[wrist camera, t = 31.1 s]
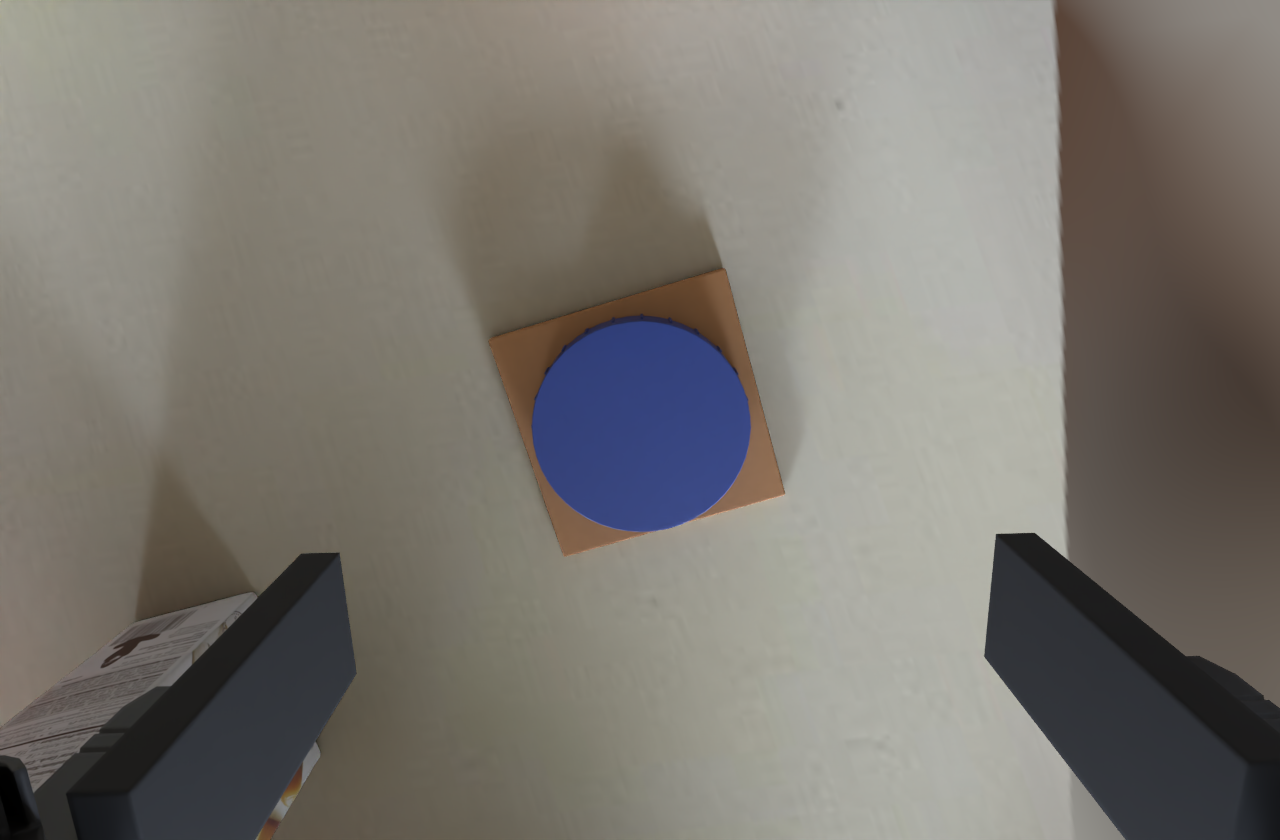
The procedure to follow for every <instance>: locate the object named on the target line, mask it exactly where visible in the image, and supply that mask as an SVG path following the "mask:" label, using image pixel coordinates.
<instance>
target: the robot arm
mask: <svg viewBox="0 0 1280 840" xmlns="http://www.w3.org/2000/svg"><path fill="white" fill-rule="evenodd" d="M984 657H985V658H986V659H987V661H988V662H989V663H990V665H991V666H992V667H993V669H994V670H995V671H996V672H997V674H998V675H999V676H1000V678H1001V679H1002V680H1003V681H1004V683H1005V684H1006V685H1007V687H1008V688H1009V689H1010V691H1011V692H1012V693H1013V694H1014V696H1015V697H1016V698H1017V700H1018V701H1019V702H1020V703H1021V705H1022V706H1023V707H1024V709H1025V710H1026V711H1027V713H1028V714H1029V715H1030V716H1031V718H1032V719H1033V720H1034V722H1035V723H1036V724H1037V725H1038V727H1039V728H1040V729H1041V731H1042V732H1043V733H1044V735H1045V736H1046V737H1047V738H1048V740H1049V741H1050V742H1051V744H1052V745H1053V746H1054V747H1055V749H1056V750H1057V751H1058V753H1059V754H1060V755H1061V757H1062V758H1063V759H1064V760H1065V762H1066V763H1067V764H1068V766H1069V767H1070V768H1071V769H1072V771H1073V772H1074V773H1075V775H1076V776H1077V777H1078V778H1079V780H1080V781H1081V782H1082V784H1083V785H1084V786H1085V788H1086V789H1087V790H1088V791H1089V793H1090V794H1091V795H1092V797H1093V798H1094V799H1095V800H1096V802H1097V803H1098V804H1099V806H1100V807H1101V808H1102V810H1103V811H1104V812H1105V813H1106V815H1107V816H1108V817H1109V819H1110V820H1111V821H1112V823H1113V824H1114V825H1115V826H1116V828H1117V829H1118V830H1119V831H1120V833H1121V834H1122V835H1123V837H1124V838H1125V839H1126V840H1280V708H1279V707H1277V706H1276V705H1275V704H1273V703H1272V702H1271V701H1270V700H1264V697H1263V695H1262V694H1261V693H1259V692H1258V691H1257V690H1255V689H1254V688H1253V687H1252V686H1250V685H1249V684H1248V683H1247V682H1245V681H1244V680H1243V679H1241V678H1240V677H1239V676H1238V675H1236V674H1234V673H1232V672H1230V671H1228V670H1226V669H1224V668H1222V667H1220V666H1218V665H1216V664H1214V663H1212V662H1210V661H1208V660H1206V659H1204V658H1202V657H1200V656H1185V655H1183V654H1182V653H1181V652H1180V651H1179V650H1177V649H1176V648H1175V647H1174V646H1172V645H1171V644H1170V643H1169V642H1168V641H1166V640H1165V639H1164V638H1163V637H1161V636H1160V635H1159V634H1158V633H1156V632H1155V631H1154V630H1153V629H1152V628H1150V627H1149V626H1148V625H1147V624H1145V623H1144V622H1143V621H1142V620H1141V619H1139V618H1138V617H1137V616H1136V615H1134V614H1133V613H1132V612H1131V611H1130V610H1128V609H1127V608H1126V607H1124V606H1123V605H1122V604H1121V603H1120V602H1119V601H1117V600H1116V599H1115V598H1114V597H1112V596H1111V595H1110V594H1109V593H1108V592H1106V591H1105V590H1104V589H1103V588H1101V587H1100V586H1099V585H1098V584H1097V583H1095V582H1094V581H1093V580H1091V579H1090V578H1089V577H1088V576H1087V575H1085V574H1084V573H1083V572H1082V571H1081V570H1079V569H1078V568H1077V567H1076V566H1074V565H1073V564H1072V563H1071V562H1070V561H1068V560H1067V559H1066V558H1065V557H1063V556H1062V555H1061V554H1060V553H1059V552H1057V551H1056V550H1055V549H1054V548H1052V547H1051V546H1050V545H1049V544H1048V543H1046V542H1045V541H1044V540H1043V539H1041V538H1040V537H1039V536H1038V535H1037V534H1035V533H1017V534H996V540H995V551H994V561H993V572H992V582H991V592H990V603H989V613H988V623H987V634H986V644H985V655H984ZM356 674H357V673H356V666H355V659H354V652H353V645H352V638H351V631H350V624H349V617H348V610H347V603H346V596H345V589H344V582H343V575H342V568H341V561H340V553H306V554H300V555H299V556H298V557H297V558H296V560H295V561H294V562H293V563H292V564H291V565H290V566H289V567H288V568H287V569H286V570H285V571H284V572H283V573H282V574H281V575H280V576H279V577H278V578H277V579H276V580H275V581H274V582H273V583H272V584H271V585H270V586H269V587H268V588H267V589H266V590H265V591H264V592H263V593H262V594H261V595H260V596H259V597H258V598H257V599H256V600H255V601H254V602H253V603H252V604H251V605H250V606H249V607H248V608H247V609H246V610H245V611H244V612H243V613H242V614H241V615H240V616H239V617H238V618H237V620H236V621H235V622H234V623H233V624H232V625H231V626H230V627H229V628H228V629H227V630H226V631H225V632H224V633H223V634H222V635H221V636H220V637H219V638H218V639H217V640H216V641H215V642H214V643H213V644H212V645H211V646H210V647H209V648H208V649H207V650H206V651H205V652H204V653H203V654H202V655H201V656H200V657H199V658H198V659H197V660H196V661H195V662H194V663H193V664H192V665H191V666H190V667H189V668H188V669H187V670H186V671H185V672H184V673H183V674H182V675H181V676H180V677H179V678H178V680H177V681H176V682H175V683H174V684H173V685H172V686H156V687H155V688H153V689H151V690H150V691H148V692H146V693H145V694H143V695H141V696H140V697H138V698H136V699H135V700H133V701H131V702H130V703H128V704H126V705H125V706H123V707H122V708H121V709H120V710H119V711H118V712H117V713H116V714H115V715H114V716H113V717H112V718H111V719H110V720H109V721H108V722H107V723H105V724H104V725H103V726H102V727H101V728H100V731H99V734H94V735H93V736H92V737H91V738H90V739H89V740H88V741H87V742H86V743H85V744H84V745H83V746H82V747H81V748H80V752H79V753H74V754H73V755H72V756H71V757H70V758H69V759H68V760H67V761H66V762H65V763H64V764H63V765H62V766H61V767H60V768H59V769H58V770H57V771H56V772H55V773H54V774H52V775H51V776H50V777H49V778H48V779H47V780H46V781H45V782H44V783H43V784H42V785H41V786H40V787H39V788H38V789H37V790H36V791H35V792H34V793H33V790H32V787H31V783H30V779H29V776H28V772H27V769H26V766H25V765H24V764H23V762H22V761H21V760H20V758H15V757H11V756H6V755H0V840H255V839H256V838H257V836H258V835H259V833H260V831H261V830H262V828H263V826H264V825H265V823H266V821H267V820H268V818H269V816H270V815H271V813H272V812H273V810H274V808H275V807H276V805H277V803H278V802H279V800H280V798H281V797H282V795H283V793H284V792H285V790H286V789H287V787H288V785H289V784H290V782H291V780H292V779H293V777H294V775H295V774H296V772H297V771H298V769H299V767H300V766H301V764H302V762H303V761H304V759H305V757H306V756H307V754H308V752H309V751H310V749H311V748H312V746H313V744H314V743H315V741H316V739H317V738H318V736H319V734H320V733H321V731H322V730H323V728H324V726H325V725H326V723H327V721H328V720H329V718H330V716H331V715H332V713H333V711H334V710H335V708H336V707H337V705H338V703H339V702H340V700H341V698H342V697H343V695H344V693H345V692H346V690H347V689H348V687H349V685H350V684H351V682H352V680H353V679H354V677H355V675H356Z"/></svg>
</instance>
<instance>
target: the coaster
mask: <svg viewBox="0 0 1280 840" xmlns="http://www.w3.org/2000/svg"><path fill="white" fill-rule="evenodd" d="M640 314H643V316H655V317H660V318H665V319H668V318H669V317H670V318H671V319H672V320H673V321H676V322H679V323H681V324H684V325H686V326H688V327H690V328H692V329H695V328H696V329H697V330H698V331H699V333H700V334H702V335H703V336H704V337H706V338H707V339H708V340H709V341H711V342H712V343H713V344H714V345H715V346H717V345H718V346H719V347H720V349H721V350H722V352H721V353H722V354H723V355H724V356H725V357H726V359H727V360H728V362H729V363H730V365H731V366H732V368H735V369H736V370H737V372H738V374H739V375H737V376H738V377H739V380H740V382H741V384H742V386H743V388H744V391H745V394H746V396H747V398H748V400H749V401H748V405H749V411H750V421H751V432H750V441H749V447H748V451H747V455H746V458H745V461H744V463H743V466H742V468H741V471H740V472H739V474H738V476H737V478H736V480H735V481H734V483H733V484H732V486H731V487H730V488H729V490H728V491H727V492H726V494H725V495H724V496H723V497H722V498H721V499H720V500H719V501H718V502H717V503H716V504H715V505H713V506H712V507H711V508H710V509H708V510H707V511H706V512H704V513H703V514H701V515H699V516H698V517H696V518H694V519H692V520H690V521H694V520H697V519H701V518H705V517H708V516H712V515H715V514H719V513H722V512H726V511H729V510H733V509H737V508H740V507H744V506H747V505H751V504H754V503H758V502H761V501H765V500H768V499H772V498H776V497H779V496H783V495H785V491H784V488H783V484H782V480H781V476H780V473H779V469H778V465H777V461H776V458H775V454H774V450H773V446H772V442H771V439H770V435H769V431H768V427H767V424H766V420H765V416H764V412H763V409H762V405H761V401H760V397H759V394H758V390H757V386H756V382H755V378H754V375H753V371H752V367H751V363H750V360H749V356H748V352H747V348H746V345H745V341H744V337H743V333H742V330H741V326H740V322H739V318H738V314H737V311H736V307H735V303H734V299H733V296H732V292H731V288H730V284H729V281H728V277H727V273H726V270H725V269H724V268H720V269H717V270H714V271H711V272H707V273H704V274H701V275H697V276H694V277H691V278H687V279H684V280H681V281H677V282H674V283H671V284H667V285H664V286H661V287H658V288H654V289H651V290H648V291H644V292H641V293H638V294H634V295H631V296H628V297H624V298H621V299H618V300H614V301H611V302H608V303H605V304H601V305H598V306H595V307H591V308H588V309H585V310H581V311H578V312H575V313H571V314H568V315H565V316H561V317H558V318H555V319H552V320H548V321H545V322H542V323H538V324H535V325H532V326H528V327H525V328H522V329H518V330H515V331H512V332H508V333H505V334H502V335H498V336H495V337H492V338H490V339H489V341H488V342H489V345H490V347H491V350H492V353H493V356H494V359H495V362H496V365H497V367H498V370H499V373H500V376H501V379H502V382H503V385H504V387H505V390H506V393H507V396H508V399H509V402H510V404H511V407H512V410H513V413H514V416H515V419H516V422H517V424H518V427H519V430H520V433H521V436H522V439H523V442H524V444H525V447H526V450H527V453H528V456H529V459H530V462H531V464H532V467H533V470H534V473H535V476H536V479H537V482H538V484H539V487H540V490H541V493H542V496H543V499H544V502H545V504H546V507H547V510H548V513H549V516H550V519H551V521H552V524H553V527H554V530H555V533H556V536H557V539H558V541H559V544H560V547H561V550H562V553H563V556H564V557H566V556H570V555H573V554H577V553H580V552H584V551H587V550H591V549H594V548H598V547H602V546H605V545H609V544H612V543H616V542H619V541H623V540H626V539H630V538H634V537H637V536H641V535H644V534H648V533H651V532H655V531H649V532H633V531H624V530H618V529H613V528H610V527H607V526H604V525H600V524H598V523H596V522H594V521H592V520H590V519H587V518H586V517H584V516H583V515H581V514H579V513H578V512H576V511H575V510H574V509H572V508H571V507H570V506H569V505H568V504H566V503H565V502H564V501H563V500H562V499H561V498H560V497H559V495H558V494H557V493H556V492H555V491H554V489H553V488H552V487H551V485H550V484H549V483H548V481H547V479H546V477H545V476H544V474H543V472H542V470H541V468H540V465H539V462H538V460H537V457H536V453H535V449H534V445H533V436H532V428H531V425H532V415H533V409H534V404H535V400H534V398H535V396H536V394H537V392H538V391H539V388H540V386H541V384H542V382H543V380H544V377H545V374H544V373H545V371H546V369H547V368H548V367H551V365H552V364H553V362H554V360H555V359H556V357H557V356H558V355H559V354H560V353H561V352H562V351H561V350H562V348H563V346H564V345H566V346H567V345H568V344H569V343H571V342H572V341H573V340H574V339H575V338H576V337H578V336H579V335H581V334H582V333H584V332H585V329H586V328H588V329H590V328H592V327H594V326H596V325H599V324H601V323H604V322H607V321H610V320H612V317H615V319H617V318H622V317H627V316H640ZM690 521H688V522H690ZM686 523H687V522H686Z"/></svg>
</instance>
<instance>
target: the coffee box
mask: <svg viewBox="0 0 1280 840" xmlns="http://www.w3.org/2000/svg"><path fill="white" fill-rule="evenodd" d="M257 598H258V597H257V595H256V594H255V593H253V592H251V593H245V594H241V595H237V596H233V597H229V598H226V599H222V600H218V601H214V602H211V603H207V604H203V605H199V606H196V607H192V608H188V609H184V610H180V611H176V612H172V613H168V614H164V615H161V616H157V617H153V618H150V619H146V620H142V621H138V622H135V623H132V624H131V625H130V626H128V627H127V628H126V629H125V630H123V631H122V632H121V633H120V634H118V635H117V636H116V637H115V638H113V639H112V640H111V641H110V642H109V643H107V644H106V645H105V646H103V647H102V648H101V649H100V650H98V651H97V652H96V653H95V654H93V655H92V656H91V657H90V658H88V659H87V660H86V661H84V662H83V663H82V664H80V665H79V666H78V667H77V668H75V669H74V670H73V671H72V672H70V673H69V674H68V675H66V676H65V677H64V678H62V679H61V680H60V681H59V682H57V683H56V684H55V685H54V686H52V687H51V688H50V689H49V690H47V691H46V692H45V693H43V694H42V695H41V696H40V697H38V698H37V699H36V700H35V701H33V702H32V703H31V704H30V705H28V706H27V707H26V708H24V709H23V710H22V711H21V712H19V713H18V714H17V715H16V716H14V717H13V718H12V719H11V720H9V721H8V722H7V723H5V724H4V725H3V726H2V727H0V755H6V756H11V757H15V758H20V760H21V761H22V762H23V764H24V765H25V766H26V769H27V772H28V776H29V779H30V783H31V787H32V790H33V793H34V792H35V791H36V790H37V789H38V788H39V787H40V786H41V785H42V784H43V783H44V782H45V781H46V780H47V779H48V778H49V777H50V776H51V775H52V774H54V773H55V772H56V771H57V770H58V769H59V768H60V767H61V766H62V765H63V764H64V763H65V762H66V761H67V760H68V759H69V758H70V757H71V756H72V755H73V754H74V753H79V752H80V748H81V747H82V746H83V745H84V744H85V743H86V742H87V741H88V740H89V739H90V738H91V737H92V736H93V735H94V734H99V731H100V728H101V727H102V726H103V725H104V724H105V723H107V722H108V721H109V720H110V719H111V718H112V717H113V716H114V715H115V714H116V713H117V712H118V711H119V710H120V709H121V708H122V707H123V706H125V705H126V704H128V703H130V702H131V701H133V700H135V699H136V698H138V697H140V696H141V695H143V694H145V693H146V692H148V691H150V690H151V689H153V688H155V687H156V686H172V685H173V684H174V683H175V682H176V681H177V680H178V678H179V677H180V676H181V675H182V674H183V673H184V672H185V671H186V670H187V669H188V668H189V667H190V666H191V665H192V664H193V663H194V662H195V661H196V660H197V659H198V658H199V657H200V656H201V655H202V654H203V653H204V652H205V651H206V650H207V649H208V648H209V647H210V646H211V645H212V644H213V643H214V642H215V641H216V640H217V639H218V638H219V637H220V636H221V635H222V634H223V633H224V632H225V631H226V630H227V629H228V628H229V627H230V626H231V625H232V624H233V623H234V622H235V621H236V620H237V618H238V617H239V616H240V615H241V614H242V613H243V612H244V611H245V610H246V609H247V608H248V607H249V606H250V605H251V604H252V603H253V602H254V601H255V600H256V599H257ZM319 758H320V750H319V748H318V745H317V743H316V741H315V743H314V744H313V746H312V748H311V749H310V751H309V752H308V754H307V756H306V757H305V759H304V761H303V762H302V764H301V766H300V767H299V769H298V771H297V772H296V774H295V775H294V777H293V779H292V780H291V782H290V784H289V785H288V787H287V789H286V790H285V792H284V793H283V795H282V797H281V798H280V800H279V802H278V803H277V805H276V807H275V808H274V810H273V812H272V813H271V815H270V816H269V818H268V820H267V821H266V823H265V825H264V826H263V828H262V830H261V831H260V833H259V835H258V836H257V838H256V839H255V840H271V838H272V836H273V834H274V833H275V831H276V829H277V828H278V826H279V824H280V823H281V821H282V819H283V818H284V816H285V814H286V812H287V811H288V809H289V807H290V806H291V804H292V803H293V801H294V799H295V797H296V796H297V794H298V793H299V791H300V789H301V787H302V785H303V784H304V782H305V780H306V779H307V777H308V775H309V774H310V772H311V770H312V769H313V767H314V765H315V763H316V762H317V760H318V759H319Z"/></svg>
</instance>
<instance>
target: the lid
mask: <svg viewBox="0 0 1280 840" xmlns="http://www.w3.org/2000/svg"><path fill="white" fill-rule="evenodd" d="M561 351H562V352H561V353H560V354H559V355H558V356H557V357H556V359H555V360H554V362H553V364H552V365H551V367H548V368H547V369H546V371H545V373H544V374H545V377H544V380H543V382H542V384H541V386H540V388H539V391H538V392H537V394H536V396H535V398H534V400H535V404H534V409H533V415H532V425H531V428H532V436H533V445H534V449H535V453H536V457H537V460H538V462H539V465H540V468H541V470H542V472H543V474H544V476H545V477H546V479H547V481H548V483H549V484H550V485H551V487H552V488H553V489H554V491H555V492H556V493H557V494H558V495H559V497H560V498H561V499H562V500H563V501H564V502H565V503H566V504H568V505H569V506H570V507H571V508H572V509H574V510H575V511H576V512H578V513H579V514H581V515H583V516H584V517H586V518H587V519H590V520H592V521H594V522H596V523H598V524H600V525H604V526H607V527H610V528H613V529H618V530H624V531H633V532H649V531H658V530H664V529H669V528H672V527H675V526H678V525H681V524H684V523H686V522H688V521H690V520H692V519H694V518H696V517H698V516H699V515H701V514H703V513H704V512H706V511H707V510H708V509H710V508H711V507H712V506H713V505H715V504H716V503H717V502H718V501H719V500H720V499H721V498H722V497H723V496H724V495H725V494H726V492H727V491H728V490H729V488H730V487H731V486H732V484H733V483H734V481H735V480H736V478H737V476H738V474H739V472H740V471H741V468H742V466H743V463H744V461H745V458H746V455H747V451H748V447H749V441H750V432H751V421H750V411H749V405H748V401H749V400H748V398H747V396H746V394H745V391H744V388H743V386H742V384H741V382H740V380H739V377H738V376H737V375H739V374H738V372H737V370H736V369H735V368H732V366H731V365H730V363H729V362H728V360H727V359H726V357H725V356H724V355H723V354H722V353H721V352H722V350H721V349H720V347H719V346H718V345H717V346H715V345H714V344H713V343H712V342H711V341H709V340H708V339H707V338H706V337H704V336H703V335H702V334H700V333H699V331H698V330H697V329H696V328H695V329H692V328H690V327H688V326H686V325H684V324H681V323H679V322H676V321H673V320H672V319H671V318H670V317H669V318H668V319H665V318H660V317H655V316H643V314H640V316H627V317H622V318H617V319H615V317H612V320H610V321H607V322H604V323H601V324H599V325H596V326H594V327H592V328H590V329H588V328H586V329H585V332H584V333H582V334H581V335H579V336H578V337H576V338H575V339H574V340H573V341H572V342H571V343H569V344H568V345H567V346H566V345H564V346H563V348H562V350H561Z"/></svg>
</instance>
